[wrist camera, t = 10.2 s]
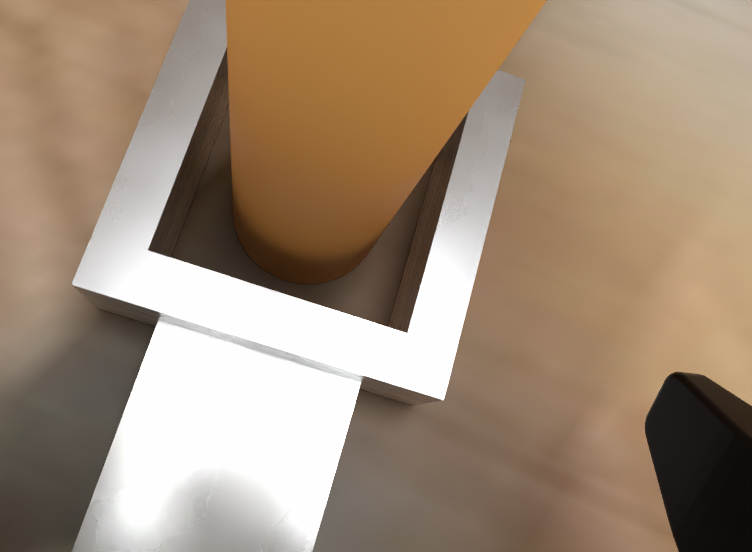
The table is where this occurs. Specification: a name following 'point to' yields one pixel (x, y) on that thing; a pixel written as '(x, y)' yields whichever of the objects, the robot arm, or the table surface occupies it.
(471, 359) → the table surface
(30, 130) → the table surface
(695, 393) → the robot arm
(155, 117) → the grey peg socket block
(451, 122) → the pin
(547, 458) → the table surface
